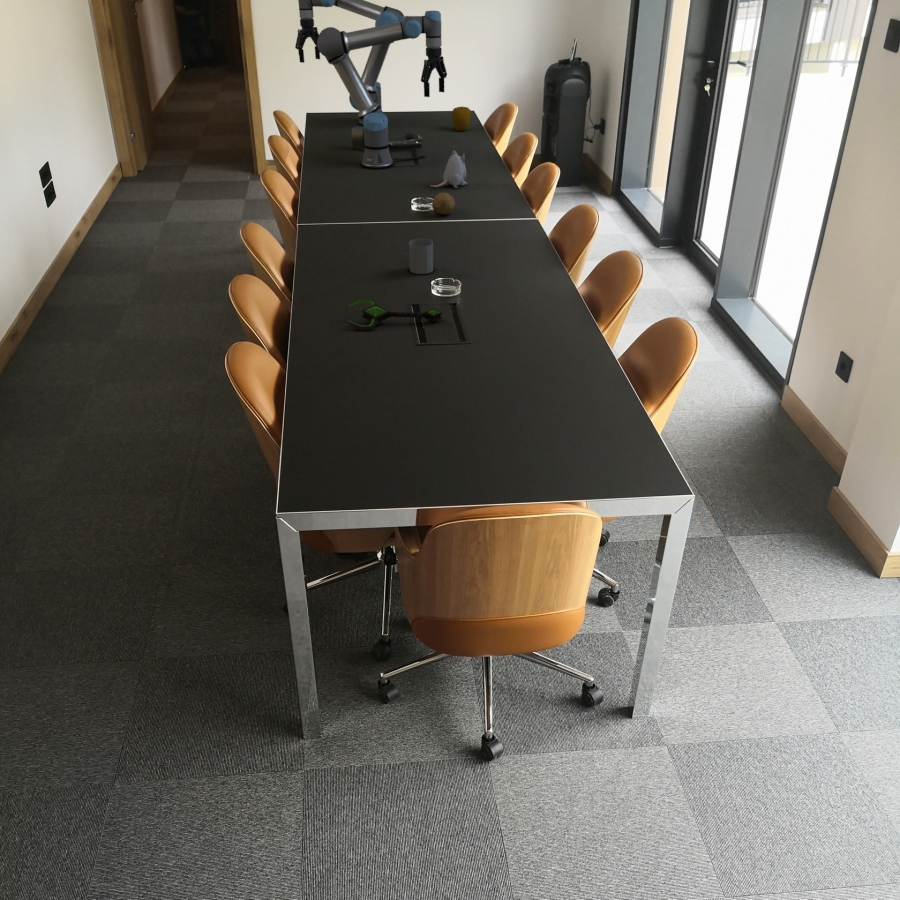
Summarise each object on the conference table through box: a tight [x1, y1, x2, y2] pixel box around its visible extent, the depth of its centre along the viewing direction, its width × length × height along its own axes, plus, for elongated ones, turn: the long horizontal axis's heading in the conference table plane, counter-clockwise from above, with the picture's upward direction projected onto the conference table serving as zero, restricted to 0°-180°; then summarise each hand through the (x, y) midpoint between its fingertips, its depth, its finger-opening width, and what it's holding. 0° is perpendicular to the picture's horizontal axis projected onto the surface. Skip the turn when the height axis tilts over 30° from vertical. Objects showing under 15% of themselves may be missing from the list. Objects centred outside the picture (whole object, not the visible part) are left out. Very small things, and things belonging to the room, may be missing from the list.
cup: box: [408, 237, 434, 275], centre depth 305 cm, size 8×8×10 cm
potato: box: [431, 192, 456, 216], centre depth 360 cm, size 10×14×8 cm
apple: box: [451, 105, 472, 132], centre depth 487 cm, size 11×11×13 cm
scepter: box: [345, 298, 443, 331], centre depth 269 cm, size 6×13×30 cm
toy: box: [428, 149, 468, 189], centre depth 390 cm, size 9×24×15 cm, turn 137°
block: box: [350, 125, 365, 152], centre depth 452 cm, size 7×7×11 cm
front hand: (434, 94), depth 425 cm, fingers open, 13 cm apart
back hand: (310, 60), depth 483 cm, fingers open, 13 cm apart
